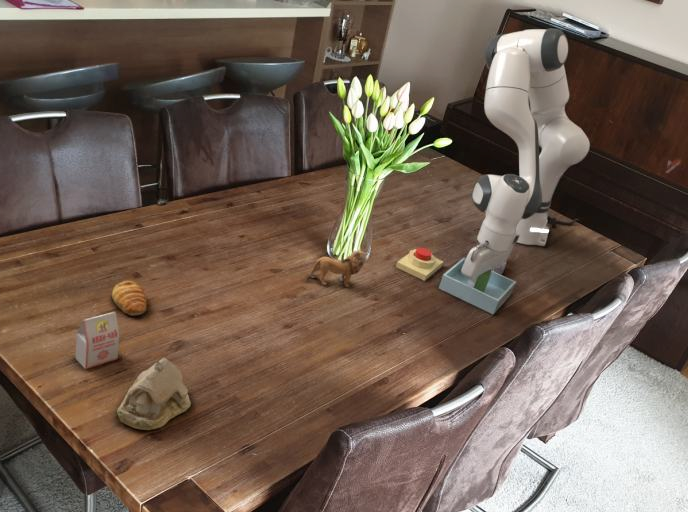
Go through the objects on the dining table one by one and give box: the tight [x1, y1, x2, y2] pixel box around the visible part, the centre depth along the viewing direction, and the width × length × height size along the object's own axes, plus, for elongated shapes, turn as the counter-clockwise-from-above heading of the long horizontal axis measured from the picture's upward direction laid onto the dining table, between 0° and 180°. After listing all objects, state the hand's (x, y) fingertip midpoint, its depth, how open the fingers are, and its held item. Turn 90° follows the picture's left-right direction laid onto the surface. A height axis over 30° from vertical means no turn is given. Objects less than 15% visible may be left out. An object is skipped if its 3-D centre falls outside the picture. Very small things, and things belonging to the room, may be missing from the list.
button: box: [415, 247, 433, 261], centre depth 207 cm, size 4×4×2 cm
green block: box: [473, 269, 492, 293], centre depth 203 cm, size 4×4×6 cm
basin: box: [438, 257, 517, 315], centre depth 204 cm, size 15×16×4 cm
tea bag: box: [75, 311, 120, 370], centre depth 143 cm, size 4×7×10 cm, turn 135°
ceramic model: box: [116, 357, 192, 431], centre depth 136 cm, size 14×11×10 cm
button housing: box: [395, 248, 444, 282], centre depth 208 cm, size 12×9×4 cm
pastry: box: [111, 280, 148, 317], centre depth 162 cm, size 9×7×4 cm
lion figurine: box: [305, 249, 367, 288], centre depth 189 cm, size 15×5×9 cm, turn 111°
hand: (477, 282), depth 203 cm, fingers closed on green block, 6 cm apart
